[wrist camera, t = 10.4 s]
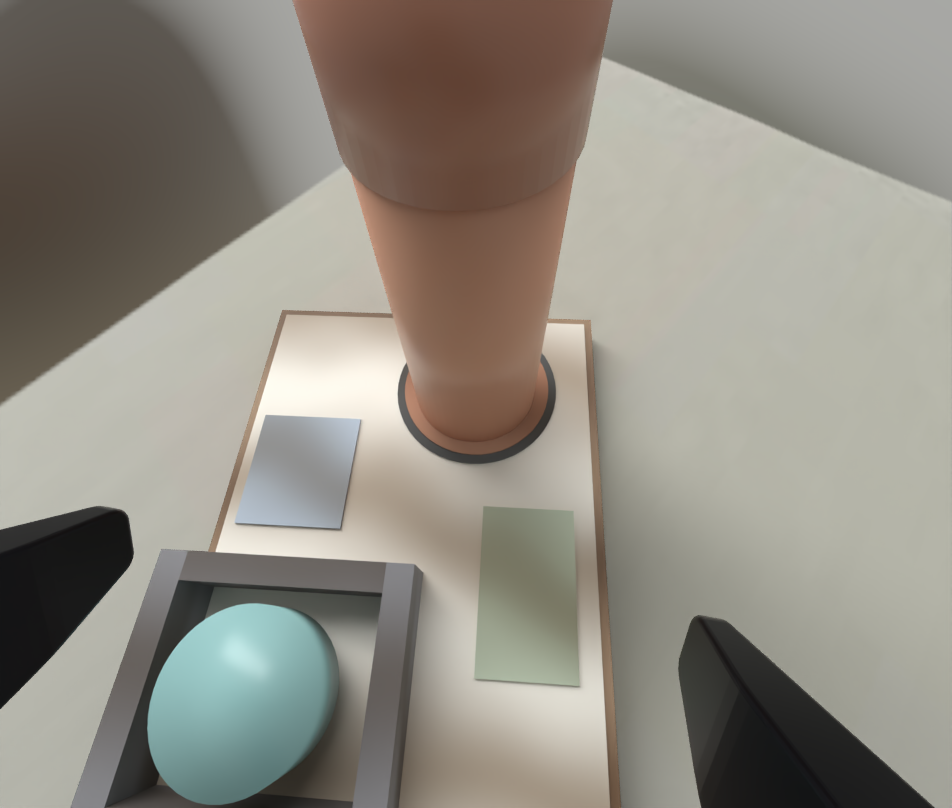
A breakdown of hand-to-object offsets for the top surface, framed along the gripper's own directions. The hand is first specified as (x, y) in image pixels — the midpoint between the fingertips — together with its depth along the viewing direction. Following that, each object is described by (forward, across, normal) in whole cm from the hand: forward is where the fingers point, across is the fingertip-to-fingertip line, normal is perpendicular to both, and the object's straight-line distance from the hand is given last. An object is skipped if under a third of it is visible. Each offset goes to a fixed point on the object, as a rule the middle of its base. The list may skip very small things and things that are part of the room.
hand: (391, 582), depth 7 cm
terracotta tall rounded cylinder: (+11, 0, 0) cm, 11 cm away
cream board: (+8, +2, +4) cm, 9 cm away
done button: (+3, +4, +6) cm, 8 cm away
